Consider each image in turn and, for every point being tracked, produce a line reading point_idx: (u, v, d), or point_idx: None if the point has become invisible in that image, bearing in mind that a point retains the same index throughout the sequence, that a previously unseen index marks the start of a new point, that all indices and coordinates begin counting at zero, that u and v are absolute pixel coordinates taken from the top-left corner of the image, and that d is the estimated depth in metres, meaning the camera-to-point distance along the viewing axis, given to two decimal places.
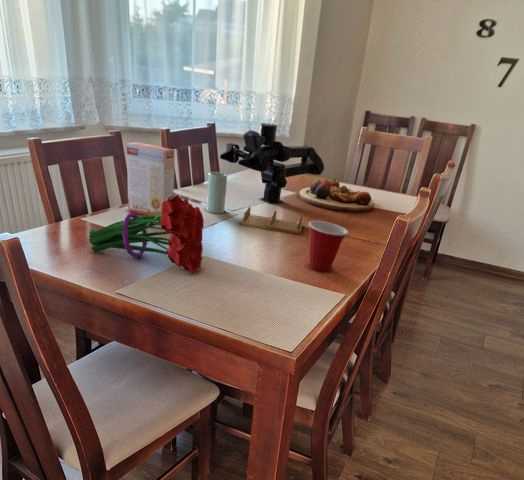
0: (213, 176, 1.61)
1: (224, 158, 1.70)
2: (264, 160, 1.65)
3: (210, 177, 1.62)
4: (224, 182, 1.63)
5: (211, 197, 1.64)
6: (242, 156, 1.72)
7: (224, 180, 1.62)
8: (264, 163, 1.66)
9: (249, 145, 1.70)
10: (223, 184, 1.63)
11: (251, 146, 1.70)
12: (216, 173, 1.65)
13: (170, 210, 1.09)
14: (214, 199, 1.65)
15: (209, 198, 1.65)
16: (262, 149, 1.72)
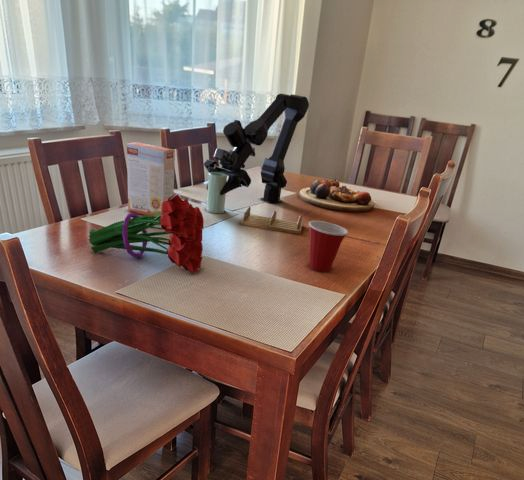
0: (213, 176, 1.61)
1: None
2: (245, 178, 1.61)
3: (210, 177, 1.62)
4: (224, 182, 1.63)
5: (211, 197, 1.64)
6: None
7: (224, 180, 1.62)
8: (246, 180, 1.62)
9: (224, 161, 1.63)
10: (223, 184, 1.63)
11: (226, 162, 1.63)
12: (216, 173, 1.65)
13: (170, 210, 1.09)
14: (214, 199, 1.65)
15: (209, 198, 1.65)
16: (237, 156, 1.64)
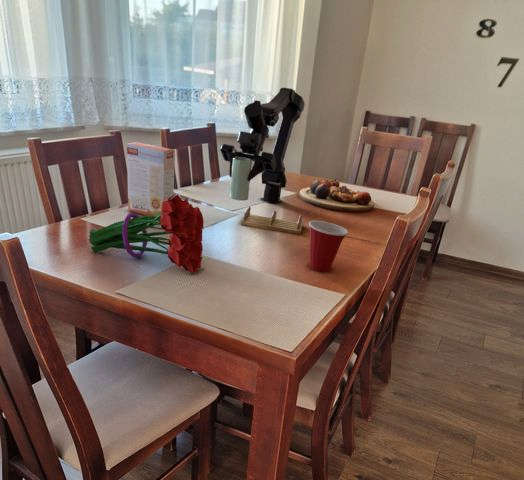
0: (240, 161, 1.53)
1: None
2: (273, 162, 1.55)
3: (236, 163, 1.53)
4: (250, 167, 1.56)
5: (238, 184, 1.56)
6: None
7: (250, 165, 1.55)
8: (273, 164, 1.56)
9: (246, 145, 1.56)
10: (250, 169, 1.56)
11: (249, 146, 1.56)
12: (238, 158, 1.57)
13: (170, 210, 1.09)
14: (241, 186, 1.57)
15: (235, 185, 1.57)
16: None
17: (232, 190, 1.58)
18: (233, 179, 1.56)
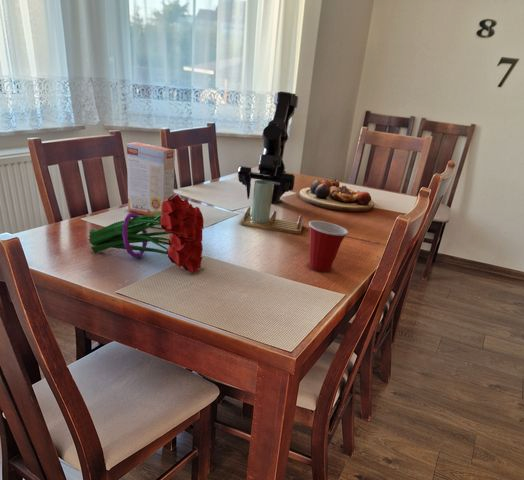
0: (265, 185, 1.54)
1: (249, 194, 1.59)
2: (293, 182, 1.58)
3: (261, 187, 1.54)
4: (272, 190, 1.57)
5: (262, 207, 1.57)
6: (261, 179, 1.60)
7: None
8: (293, 184, 1.59)
9: (266, 167, 1.57)
10: (272, 192, 1.57)
11: (269, 168, 1.57)
12: (258, 181, 1.58)
13: (170, 210, 1.09)
14: (265, 209, 1.58)
15: (259, 209, 1.58)
16: None
17: (255, 213, 1.59)
18: (257, 203, 1.57)
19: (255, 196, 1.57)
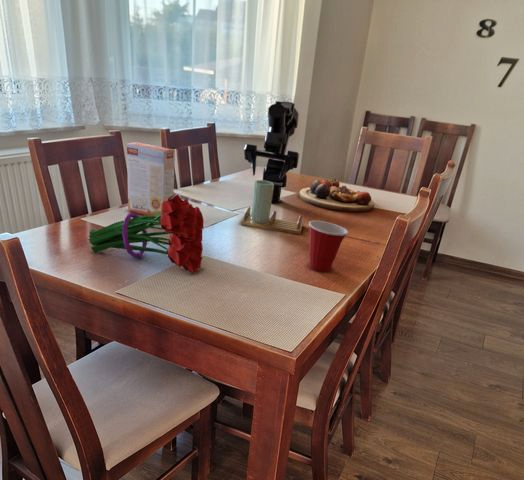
0: (265, 185, 1.54)
1: None
2: (297, 160, 1.64)
3: (261, 187, 1.54)
4: (272, 190, 1.57)
5: (262, 207, 1.57)
6: (267, 156, 1.65)
7: None
8: (297, 162, 1.65)
9: (271, 145, 1.62)
10: (272, 192, 1.57)
11: (274, 145, 1.62)
12: (258, 181, 1.58)
13: (170, 210, 1.09)
14: (265, 209, 1.58)
15: (259, 209, 1.58)
16: None
17: (255, 213, 1.59)
18: (257, 203, 1.57)
19: (255, 196, 1.57)
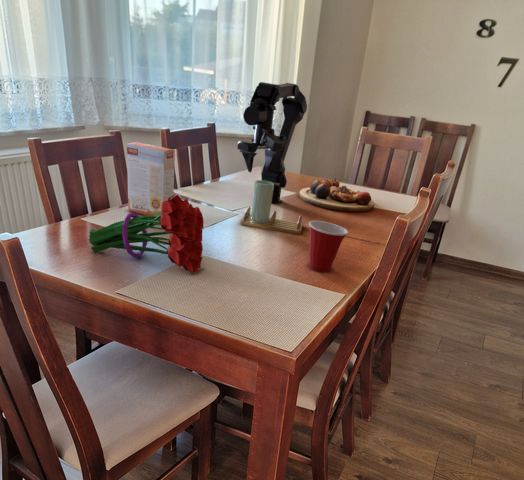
0: (265, 185, 1.54)
1: None
2: None
3: (261, 187, 1.54)
4: (272, 190, 1.57)
5: (262, 207, 1.57)
6: (258, 148, 1.68)
7: None
8: None
9: None
10: (272, 192, 1.57)
11: None
12: (258, 181, 1.58)
13: (170, 210, 1.09)
14: (265, 209, 1.58)
15: (259, 209, 1.58)
16: None
17: (255, 213, 1.59)
18: (257, 203, 1.57)
19: (255, 196, 1.57)
